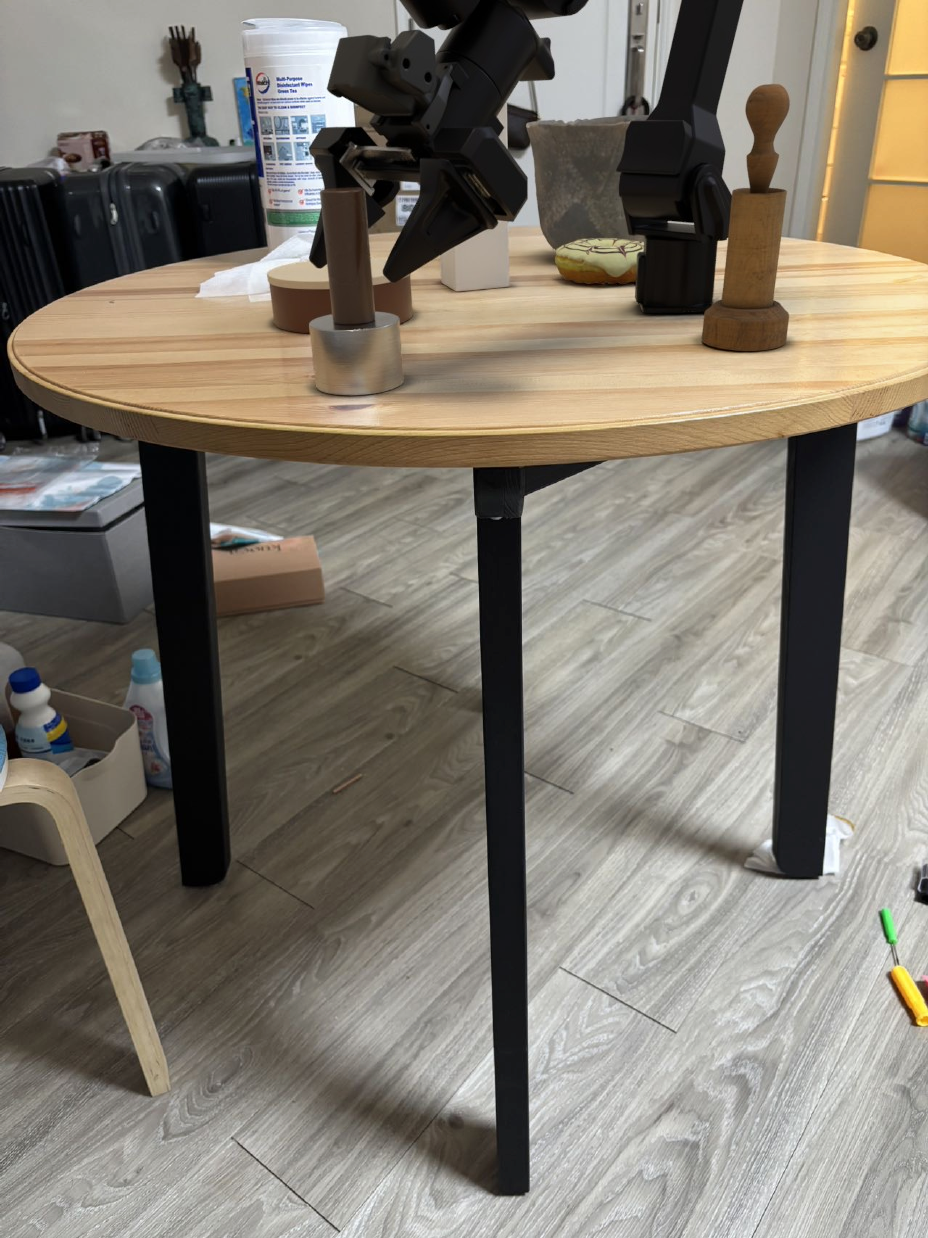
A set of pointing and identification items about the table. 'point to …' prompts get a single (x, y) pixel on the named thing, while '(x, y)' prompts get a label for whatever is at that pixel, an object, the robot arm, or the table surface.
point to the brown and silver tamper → (352, 307)
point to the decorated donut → (599, 260)
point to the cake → (328, 294)
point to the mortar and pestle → (754, 241)
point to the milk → (480, 252)
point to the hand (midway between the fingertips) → (349, 271)
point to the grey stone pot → (580, 178)
